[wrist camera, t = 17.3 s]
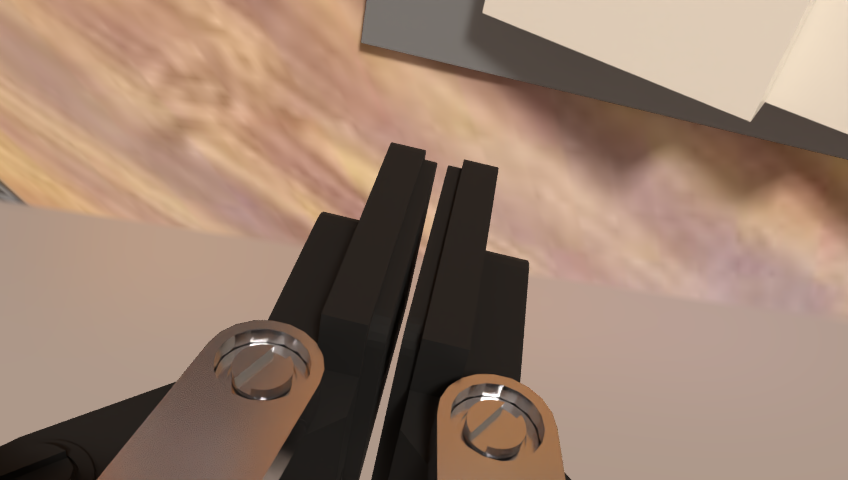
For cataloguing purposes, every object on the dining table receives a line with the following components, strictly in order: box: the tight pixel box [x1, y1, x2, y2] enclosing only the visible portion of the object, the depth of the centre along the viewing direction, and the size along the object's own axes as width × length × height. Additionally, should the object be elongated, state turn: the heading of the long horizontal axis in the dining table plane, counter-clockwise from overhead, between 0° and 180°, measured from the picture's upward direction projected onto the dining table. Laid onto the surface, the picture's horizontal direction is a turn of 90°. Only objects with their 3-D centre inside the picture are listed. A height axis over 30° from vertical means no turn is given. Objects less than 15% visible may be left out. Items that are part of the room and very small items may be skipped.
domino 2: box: [765, 0, 848, 134], centre depth 25 cm, size 2×5×10 cm
